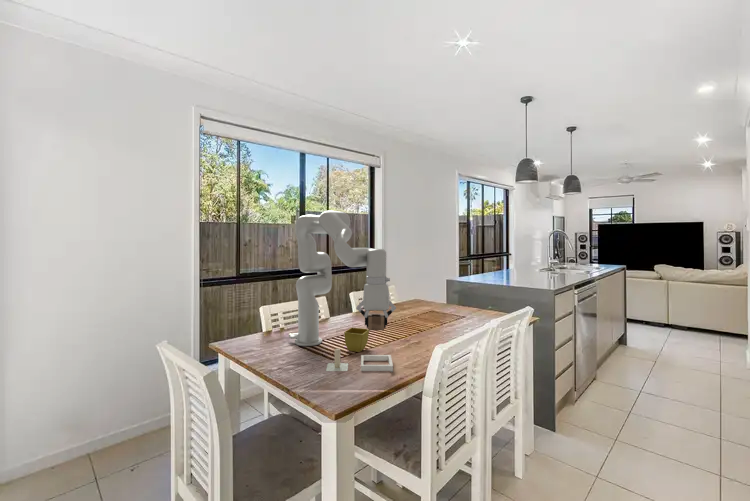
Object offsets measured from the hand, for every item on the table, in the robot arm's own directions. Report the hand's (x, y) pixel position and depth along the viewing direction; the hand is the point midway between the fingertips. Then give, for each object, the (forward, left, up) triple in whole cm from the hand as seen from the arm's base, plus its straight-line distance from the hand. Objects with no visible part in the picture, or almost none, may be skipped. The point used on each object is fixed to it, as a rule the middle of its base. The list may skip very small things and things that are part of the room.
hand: (376, 326), depth 141 cm
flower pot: (-8, +19, -16) cm, 26 cm away
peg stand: (-15, -2, -16) cm, 22 cm away
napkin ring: (0, 0, -1) cm, 1 cm away
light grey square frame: (0, 0, -16) cm, 16 cm away
